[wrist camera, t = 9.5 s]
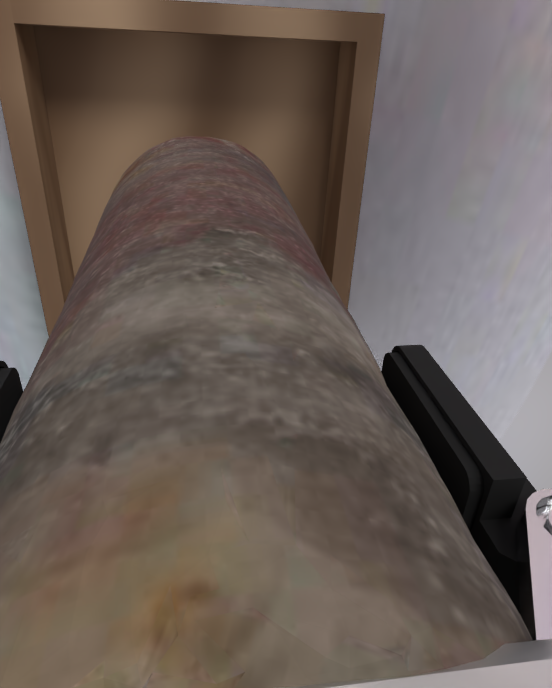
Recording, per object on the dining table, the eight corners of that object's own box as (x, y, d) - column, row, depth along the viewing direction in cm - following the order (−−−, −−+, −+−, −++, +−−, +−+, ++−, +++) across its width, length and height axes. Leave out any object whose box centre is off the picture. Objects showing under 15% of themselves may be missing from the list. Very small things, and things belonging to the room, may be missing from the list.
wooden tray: (359, 18, 23) (385, 13, 20) (326, 328, 31) (341, 357, 28) (7, -4, 21) (-23, -13, 18) (69, 336, 29) (55, 369, 26)
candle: (240, 331, 24) (362, 1007, 7) (85, 273, 22) (-295, 1098, 5) (317, 182, 21) (839, 734, 4) (147, 96, 19) (-268, 585, 2)
